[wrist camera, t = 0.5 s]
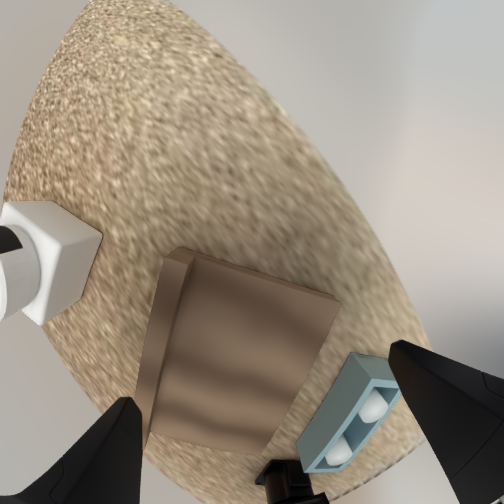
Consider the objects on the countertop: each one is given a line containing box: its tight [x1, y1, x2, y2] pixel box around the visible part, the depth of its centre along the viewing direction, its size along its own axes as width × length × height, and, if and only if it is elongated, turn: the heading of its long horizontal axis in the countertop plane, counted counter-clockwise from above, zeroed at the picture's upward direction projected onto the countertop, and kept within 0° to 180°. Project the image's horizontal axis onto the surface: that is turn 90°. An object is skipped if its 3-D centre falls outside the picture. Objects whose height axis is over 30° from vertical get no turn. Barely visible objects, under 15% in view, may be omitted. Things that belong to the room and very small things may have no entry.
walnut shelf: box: [134, 246, 341, 456], centre depth 21 cm, size 20×14×5 cm
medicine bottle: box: [0, 201, 102, 326], centre depth 15 cm, size 7×7×12 cm
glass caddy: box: [296, 352, 402, 473], centre depth 23 cm, size 14×5×6 cm, turn 161°
